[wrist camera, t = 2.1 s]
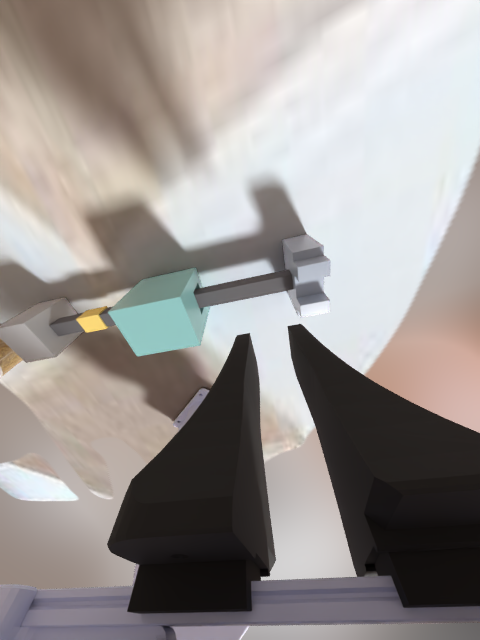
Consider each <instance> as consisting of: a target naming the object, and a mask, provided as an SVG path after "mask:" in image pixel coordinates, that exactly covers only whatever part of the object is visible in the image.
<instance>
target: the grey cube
mask: <svg viewBox="0 0 480 640" xmlns="http://www.w3.org/2000/svg"><path fill="white" fill-rule="evenodd" d="M76 314H77V312H76V311H75V310H74V308H73V307H72V306H71V304H70V303H69V302H68V300H67V299H66V298H65V297H64V298H59V299H55V300H50V301H46V302H41V303H38V304H36V305H34V306H32V307H31V308H29V309H27V310H25V311H24V312H22V313H20V314H19V315H17V316H15V317H13V318H12V319H10V320H8V321H6V322H5V323H3V324H1V325H0V339H1V340H2V341H3V342H5V343H6V344H7V345H8V346H9V347H10V348H11V349H12V350H13V351H14V352H15V353H16V354H17V355H18V356H20V357H21V358H22V359H23V360H24V361H25V362H26V363H27V362H33V361H38V360H43V359H49V358H54V357H57V356H58V355H59V354H60V353H61V352H62V351H63V350H64V349H65V348H66V347H67V346H68V345H69V344H71V343H72V342H73V341H74V340H75V339H76V338H77V337H78V336H79V335H80V334H81V333H82V332H78V333H73V334H68V335H63V336H58V335H57V334H56V333H55V332H54V331H53V330H52V329H51V327H50V326H49V325H50V324H52V323H53V322H54V321H56V320H57V319H59V318H62V317H67V316H72V315H76ZM83 332H84V331H83Z"/></svg>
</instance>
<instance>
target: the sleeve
mask: <svg viewBox="0 0 480 640" xmlns="http://www.w3.org/2000/svg"><path fill="white" fill-rule="evenodd" d="M199 288H203V287H202V284H201V281H200V278H199V275H198V272H197V269H196V268H191V269H187V270H182V271H178V272H173V273H169V274H165V275H160V276H156V277H151V278H147V279H142V280H141V281H140V282H139V283H138V284H137V285H136V286H134V287H133V288H132V289H131V290H130V291H129V292H128V293H127V294H126V295H125V296H124V297H123V298H122V299H121V300H120V301H119V302H118V303H117V304H116V305H114V306H113V307H112V308H111V309H110V310H109V311H108V313H109V315H110V316H111V318H112V319H113V321H114V322H115V324H116V325H117V327H118V328H119V330H120V331H121V333H122V334H123V336H124V337H125V339H126V341H127V342H128V344H129V345H130V347H131V348H132V350H133V351H134V353H135V354H136V356H137V357H138V356H143V355H149V354H154V353H160V352H166V351H171V350H177V349H182V348H188V347H194V346H199V345H201V341H202V337H203V333H204V329H205V325H206V321H207V316H208V312H209V308H210V307H209V306H208V307H203V308H199V306H198V303H197V301H196V298H195V295H194V293H193V292H194V290H195V289H199Z"/></svg>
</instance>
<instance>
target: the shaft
mask: <svg viewBox="0 0 480 640" xmlns="http://www.w3.org/2000/svg"><path fill="white" fill-rule="evenodd" d="M288 290H293V279H292V274H291V272H290V270H284V271H279V272H275V273H270V274H265V275H260V276H256V277H251V278H246V279H241V280H237V281H232V282H227V283H223V284H218V285H213V286H208V287H204V288H199V289H195V290H194V292H193V293H194V295H195V298H196V301H197V303H198V306H199V308H203V307H208V306H213V305H218V304H223V303H228V302H233V301H238V300H243V299H248V298H253V297H258V296H263V295H268V294H273V293H278V292H283V291H288ZM111 308H112V307H109V308H108V307H107V306H105V307H101V308H96V309H91V310H87V311H85V312H84V313H81V314H76V315H72V316H67V317H62V318H59V319H57V320H56V321H54V322H53V323H52V324H50V325H49V326H50V327H51V329H52V330H53V331H54V332H55V333H56V334H57V335H58V336H63V335H68V334H73V333H78V332H83V331H85V332H86V333H88V332H93V331H98V330H103V329H107V328H108V327H109V326H113V325H116V324H115V322H114V321H113V319H112V318H111V316H110V315H109V313H108V311H109V310H110V309H111Z"/></svg>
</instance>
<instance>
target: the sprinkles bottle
mask: <svg viewBox="0 0 480 640" xmlns="http://www.w3.org/2000/svg"><path fill="white" fill-rule="evenodd" d="M22 360H23V359H22V358H21V357H20V356H18V355H17V354H16V353H15V352H14V351H13V350H12V349H11V348H10V347H9V346H8V345H7V344H6V343H5V342H3V341H2V340H1V339H0V378H1V377H2V376H3V375H4V374H5V373H7V372H8V371H9V370H10V369H12V368H13V367H14V366H15V365H17V364H18V363H19V362H20V361H22Z"/></svg>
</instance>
